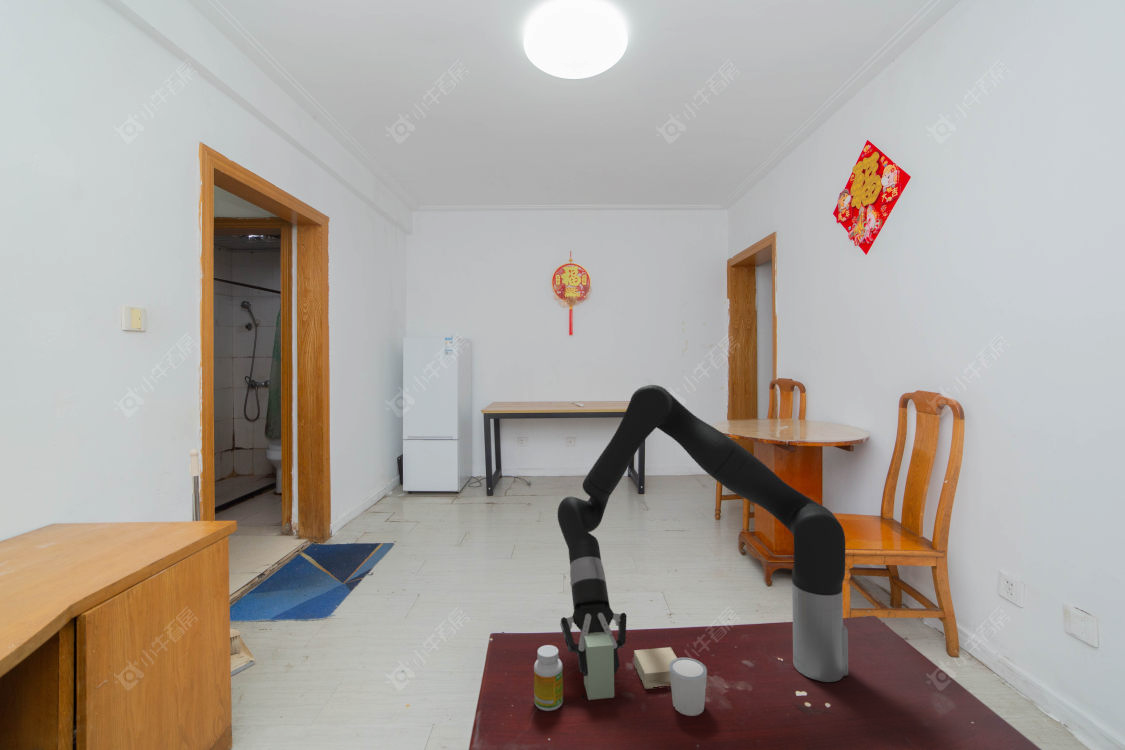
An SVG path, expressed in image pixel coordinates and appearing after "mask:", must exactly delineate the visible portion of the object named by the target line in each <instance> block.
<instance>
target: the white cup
mask: <svg viewBox="0 0 1125 750" xmlns="http://www.w3.org/2000/svg"><path fill="white" fill-rule="evenodd" d="M669 671H670V680H671V686H670V688H671V689H670V690H671V697H672V706H673V708H674V707H675V708H674V709H675V710H676V711H678V713H680V714H682V715H685V716H690V717H691V716H692V717H694V716H699V715H700V714H702V713H704V710H705V703H706V701H705V700H706V687H707V678H708V677H707V675H708V670H707V667H706V665H705V664H703V662H701V661H699V660H697V659H696V658H695V659H694V658H690V657H677V659H674V660H673V661H671V662H670V664H669Z"/></svg>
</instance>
